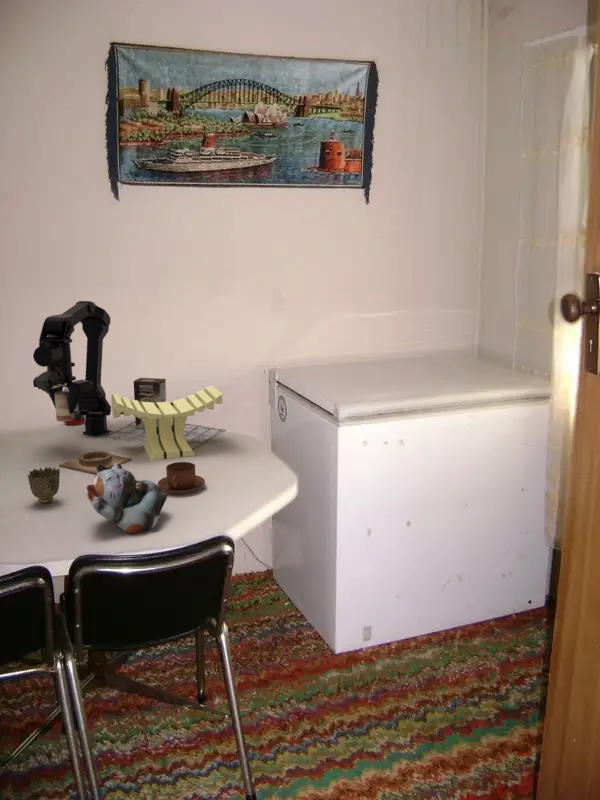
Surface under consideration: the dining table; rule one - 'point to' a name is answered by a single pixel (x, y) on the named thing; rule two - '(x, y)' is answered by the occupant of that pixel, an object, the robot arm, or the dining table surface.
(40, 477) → the cup
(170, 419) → the slatted curved stool
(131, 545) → the dining table surface
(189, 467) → the cup and saucer
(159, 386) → the coffee box
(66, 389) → the beverage can
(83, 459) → the walnut socket
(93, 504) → the lucky cat figurine
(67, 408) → the beige rounded peg
